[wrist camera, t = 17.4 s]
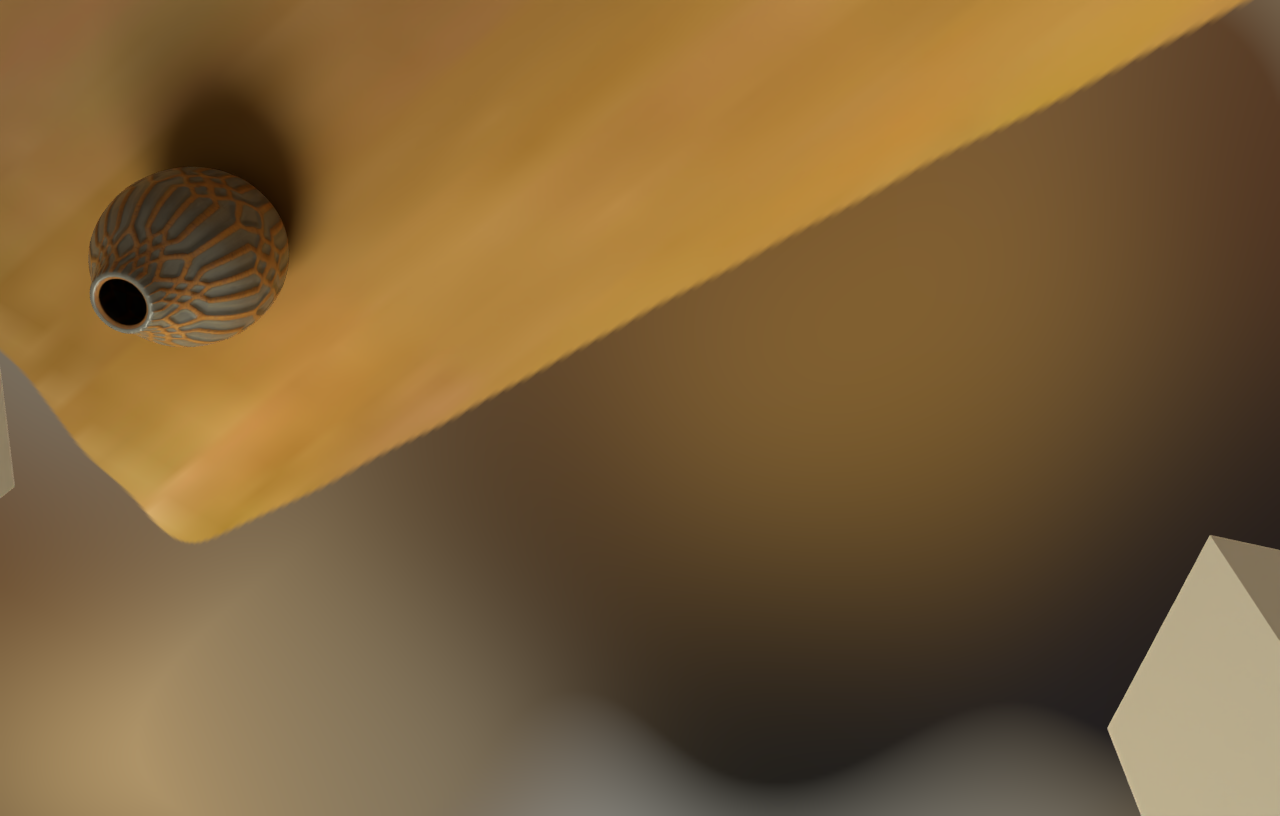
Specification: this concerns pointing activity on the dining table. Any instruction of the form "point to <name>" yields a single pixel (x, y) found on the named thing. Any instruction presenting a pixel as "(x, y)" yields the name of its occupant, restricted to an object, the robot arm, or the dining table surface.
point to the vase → (187, 257)
